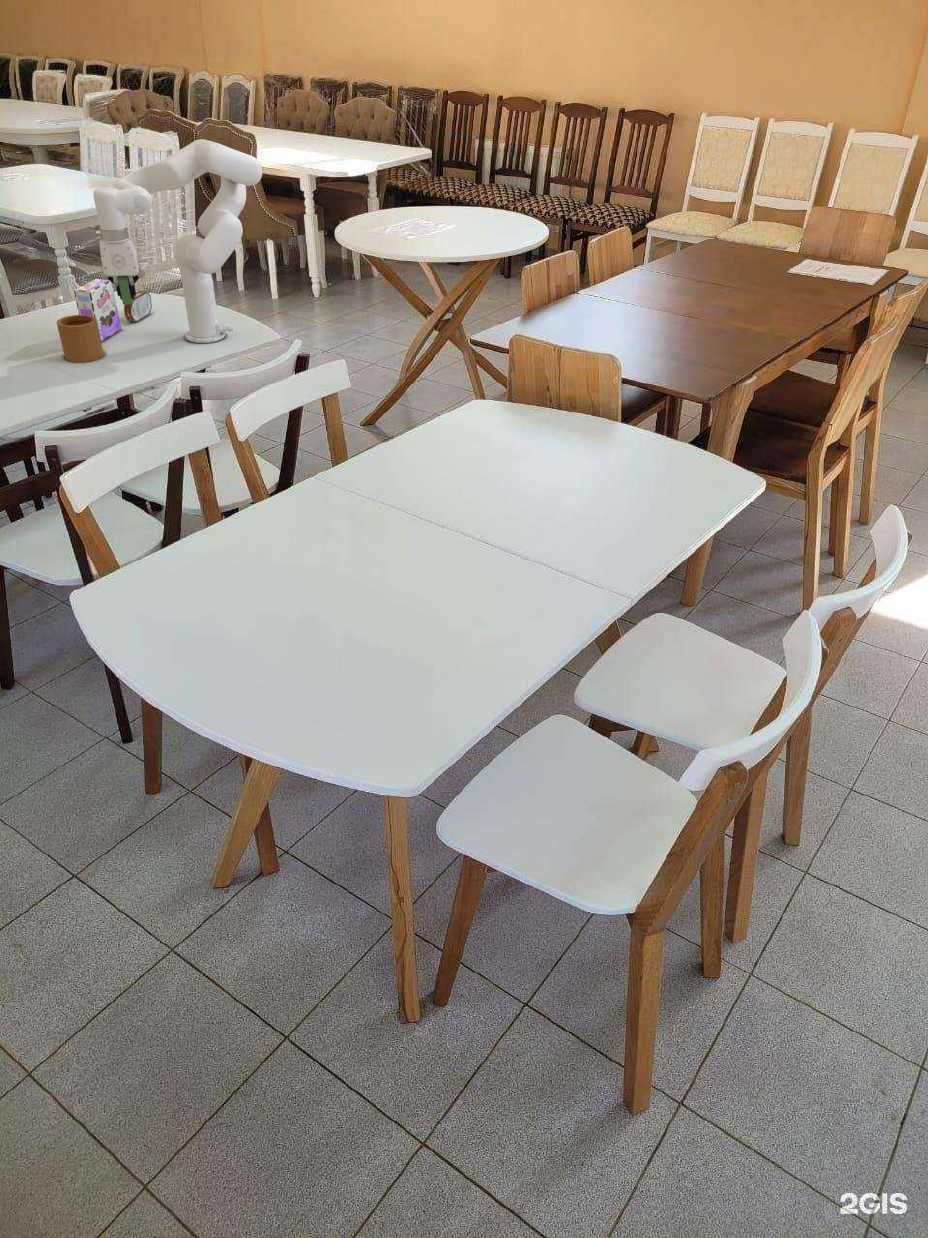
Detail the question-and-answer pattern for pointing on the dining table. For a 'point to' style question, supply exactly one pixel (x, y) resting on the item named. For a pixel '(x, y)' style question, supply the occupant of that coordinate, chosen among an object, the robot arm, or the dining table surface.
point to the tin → (138, 307)
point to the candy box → (99, 305)
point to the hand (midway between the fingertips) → (127, 297)
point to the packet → (125, 289)
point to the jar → (80, 338)
